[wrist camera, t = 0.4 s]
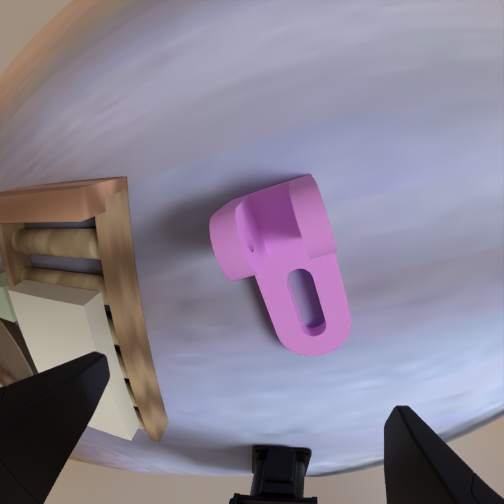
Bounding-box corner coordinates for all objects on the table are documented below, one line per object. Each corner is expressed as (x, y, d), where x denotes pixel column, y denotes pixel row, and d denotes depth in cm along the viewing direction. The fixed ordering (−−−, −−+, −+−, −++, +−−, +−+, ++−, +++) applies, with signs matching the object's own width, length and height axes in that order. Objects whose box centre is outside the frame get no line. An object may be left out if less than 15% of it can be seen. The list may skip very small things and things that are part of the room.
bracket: (232, 199, 21) (202, 223, 14) (310, 173, 20) (318, 185, 13) (288, 351, 24) (283, 414, 18) (354, 335, 23) (369, 396, 16)
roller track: (168, 422, 30) (150, 462, 24) (70, 394, 31) (47, 423, 26) (127, 176, 21) (77, 188, 15) (14, 188, 23) (-30, 201, 17)
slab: (140, 424, 27) (131, 440, 25) (69, 401, 28) (59, 413, 26) (101, 291, 22) (83, 306, 20) (24, 279, 23) (7, 290, 21)
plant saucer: (26, 397, 36) (16, 408, 33) (-34, 311, 32) (-46, 319, 29) (67, 379, 31) (55, 393, 28) (-11, 263, 27) (-27, 272, 24)
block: (36, 305, 27) (14, 322, 24) (17, 300, 28) (-5, 315, 24) (27, 272, 26) (3, 287, 22) (8, 269, 27) (-15, 282, 23)
